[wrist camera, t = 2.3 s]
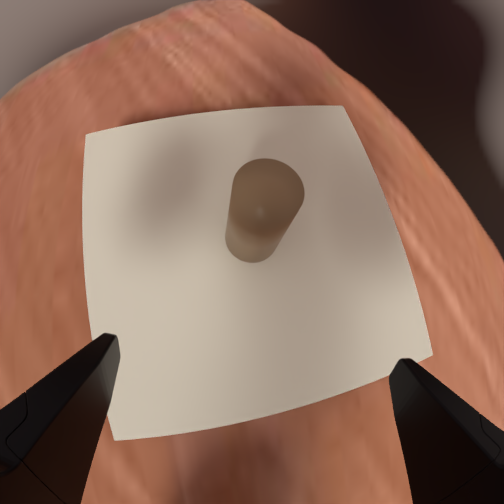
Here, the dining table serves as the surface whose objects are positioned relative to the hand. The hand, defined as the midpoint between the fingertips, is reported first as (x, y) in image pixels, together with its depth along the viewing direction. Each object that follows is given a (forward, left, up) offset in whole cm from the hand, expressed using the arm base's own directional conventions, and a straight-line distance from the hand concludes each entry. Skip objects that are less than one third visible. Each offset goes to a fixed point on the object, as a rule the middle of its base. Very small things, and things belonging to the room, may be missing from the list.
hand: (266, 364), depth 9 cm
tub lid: (+2, +7, -11) cm, 13 cm away
